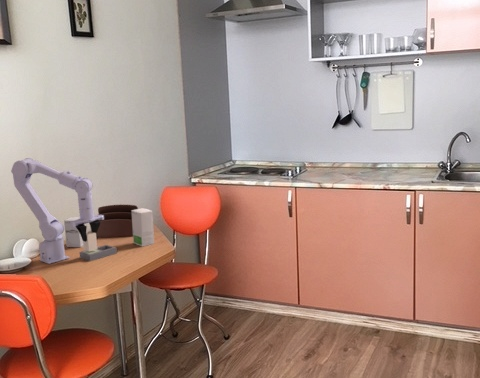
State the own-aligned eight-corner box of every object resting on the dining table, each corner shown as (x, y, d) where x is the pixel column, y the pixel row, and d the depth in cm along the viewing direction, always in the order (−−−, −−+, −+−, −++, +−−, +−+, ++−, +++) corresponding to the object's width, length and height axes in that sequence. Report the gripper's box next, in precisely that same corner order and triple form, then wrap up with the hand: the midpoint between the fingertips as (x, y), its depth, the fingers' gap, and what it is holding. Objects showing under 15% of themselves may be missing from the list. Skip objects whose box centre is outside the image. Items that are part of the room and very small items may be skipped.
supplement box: (66, 247, 245) (63, 220, 242) (74, 242, 252) (71, 216, 249) (80, 247, 243) (77, 220, 241) (89, 243, 250) (86, 216, 248)
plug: (89, 251, 223) (87, 235, 222) (84, 249, 226) (82, 233, 225) (97, 249, 226) (95, 232, 225) (92, 247, 229) (90, 231, 227)
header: (90, 261, 222) (89, 254, 221) (80, 257, 227) (79, 251, 227) (117, 253, 231) (116, 247, 231) (106, 250, 236) (105, 244, 236)
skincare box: (133, 243, 245) (130, 210, 242) (145, 240, 249) (142, 207, 246) (143, 247, 238) (140, 212, 236) (155, 243, 243) (152, 209, 240)
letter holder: (100, 232, 268) (98, 205, 266) (140, 231, 268) (137, 203, 265) (95, 238, 259) (92, 209, 256) (136, 236, 258) (133, 207, 255)
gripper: (75, 212, 215) (79, 245, 217) (106, 205, 225) (109, 237, 228) (66, 210, 220) (70, 242, 222) (97, 203, 230) (100, 234, 232)
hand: (89, 239), depth 225 cm, fingers closed on plug, 4 cm apart
